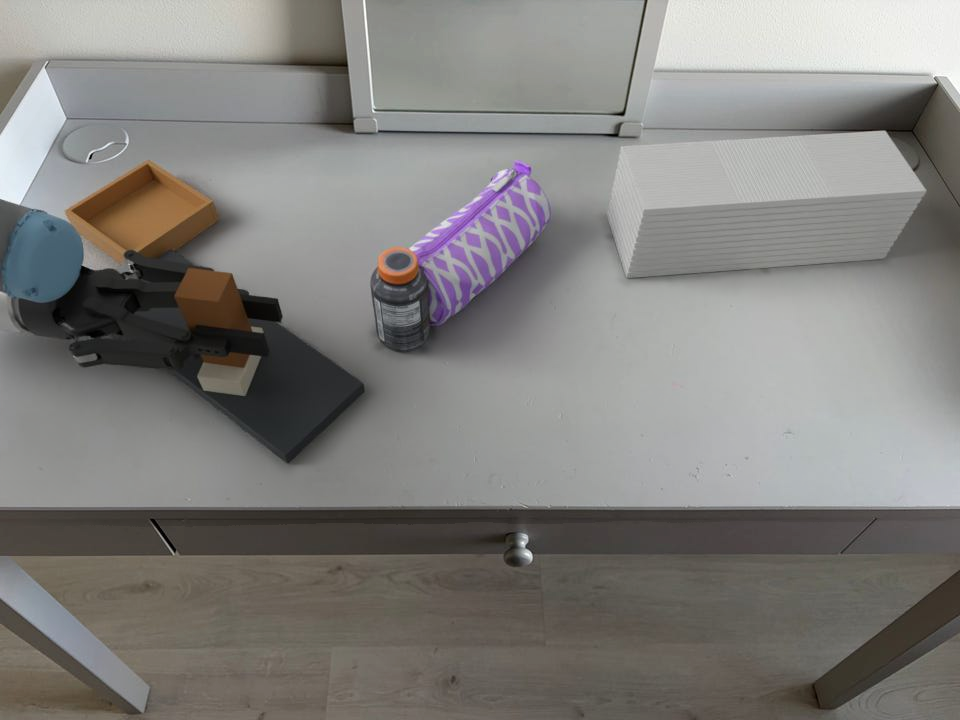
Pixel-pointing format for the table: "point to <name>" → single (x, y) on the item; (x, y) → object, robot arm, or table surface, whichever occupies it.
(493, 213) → the pencil case
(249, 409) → the slate board
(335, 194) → the table surface
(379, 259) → the pill bottle
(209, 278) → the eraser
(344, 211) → the table surface
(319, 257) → the table surface
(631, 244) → the stack of papers
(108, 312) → the robot arm
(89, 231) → the tray
